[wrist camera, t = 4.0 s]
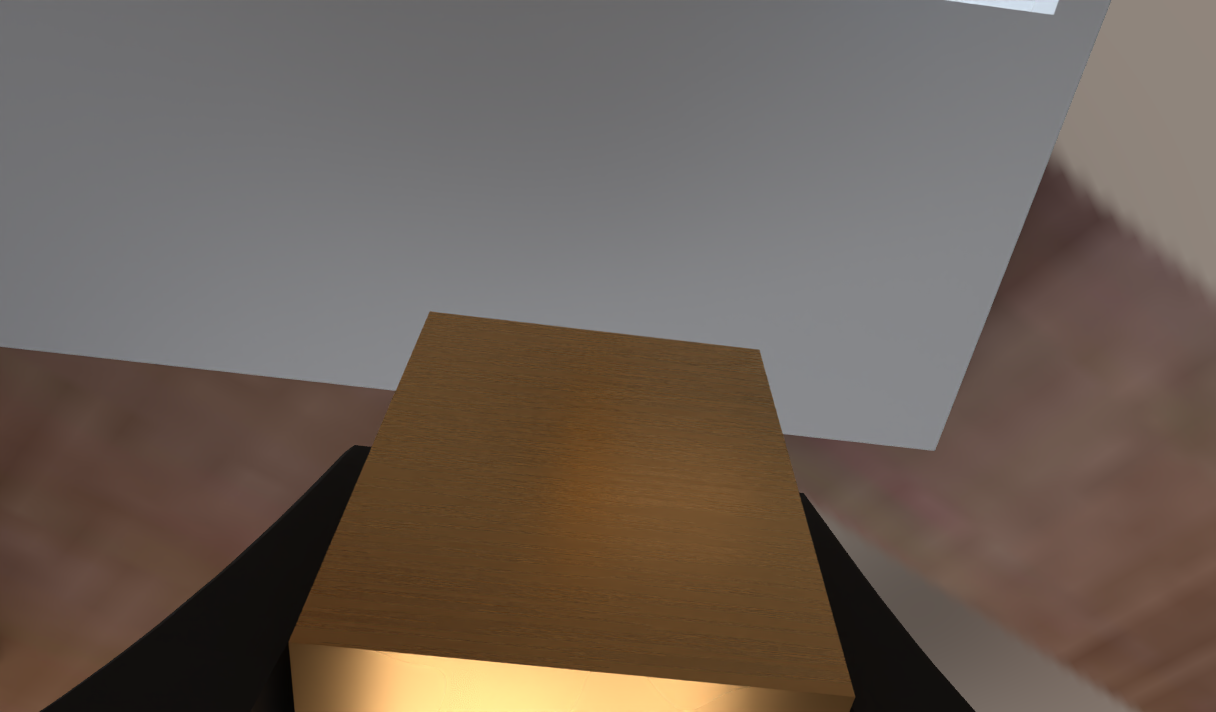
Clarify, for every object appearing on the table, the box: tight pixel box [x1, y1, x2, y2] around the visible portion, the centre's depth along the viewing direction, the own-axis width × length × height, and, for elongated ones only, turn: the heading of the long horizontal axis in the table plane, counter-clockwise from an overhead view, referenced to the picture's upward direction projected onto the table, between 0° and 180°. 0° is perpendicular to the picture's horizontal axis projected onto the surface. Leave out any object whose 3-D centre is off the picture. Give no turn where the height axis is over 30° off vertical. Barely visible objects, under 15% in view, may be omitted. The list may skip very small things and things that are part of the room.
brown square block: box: [289, 312, 855, 712], centre depth 9 cm, size 4×4×5 cm
